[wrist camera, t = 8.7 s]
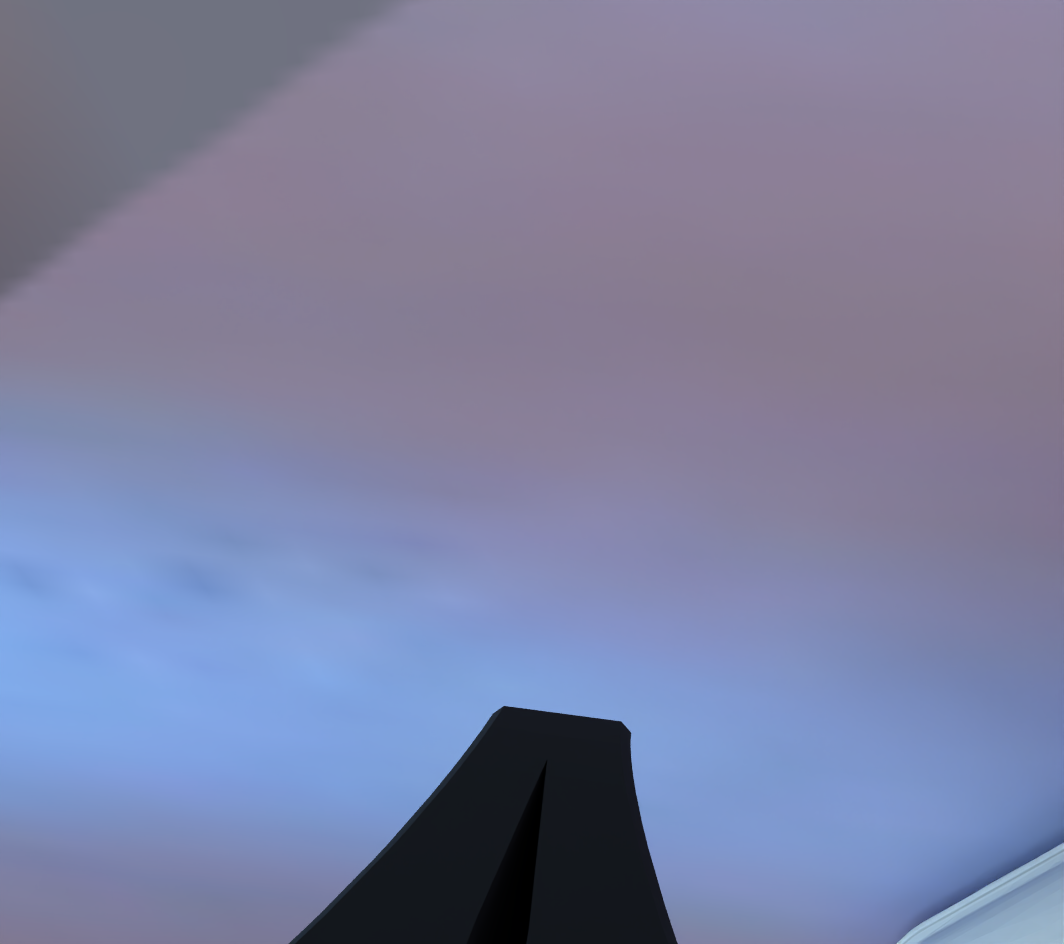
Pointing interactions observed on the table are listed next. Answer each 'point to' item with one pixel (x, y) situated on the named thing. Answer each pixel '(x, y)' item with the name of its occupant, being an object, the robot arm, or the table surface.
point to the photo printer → (1005, 909)
